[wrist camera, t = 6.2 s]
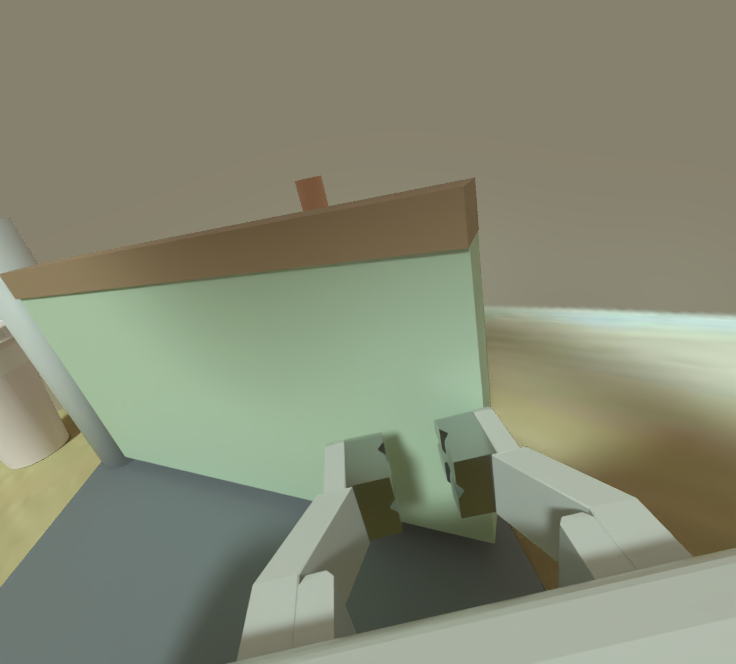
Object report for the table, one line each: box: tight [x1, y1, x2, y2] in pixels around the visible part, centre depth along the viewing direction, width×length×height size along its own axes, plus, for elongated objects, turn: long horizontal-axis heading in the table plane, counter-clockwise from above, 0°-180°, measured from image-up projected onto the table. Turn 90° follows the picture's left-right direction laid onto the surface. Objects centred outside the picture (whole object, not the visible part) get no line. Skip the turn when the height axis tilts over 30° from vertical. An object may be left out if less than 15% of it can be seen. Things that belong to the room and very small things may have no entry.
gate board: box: [0, 176, 546, 664], centre depth 18 cm, size 21×24×15 cm
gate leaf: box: [0, 178, 497, 544], centre depth 14 cm, size 20×2×11 cm, turn 68°
